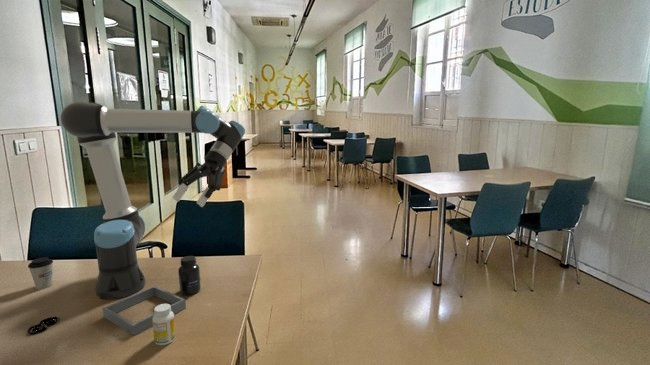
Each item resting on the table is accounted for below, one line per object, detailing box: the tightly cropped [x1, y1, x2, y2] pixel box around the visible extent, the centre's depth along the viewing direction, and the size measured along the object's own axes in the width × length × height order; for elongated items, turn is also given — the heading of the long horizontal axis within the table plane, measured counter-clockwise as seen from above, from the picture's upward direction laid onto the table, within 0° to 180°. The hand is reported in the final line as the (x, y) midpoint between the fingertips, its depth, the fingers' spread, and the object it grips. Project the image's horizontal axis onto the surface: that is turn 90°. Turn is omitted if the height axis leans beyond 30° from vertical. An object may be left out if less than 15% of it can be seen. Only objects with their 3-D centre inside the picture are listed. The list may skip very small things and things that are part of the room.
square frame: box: [102, 285, 187, 336], centre depth 107 cm, size 17×17×3 cm
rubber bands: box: [27, 316, 59, 335], centre depth 101 cm, size 5×8×1 cm, turn 170°
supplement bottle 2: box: [177, 255, 201, 296], centre depth 120 cm, size 7×7×12 cm
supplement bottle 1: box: [152, 303, 177, 346], centre depth 94 cm, size 5×5×10 cm
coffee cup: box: [27, 256, 54, 290], centre depth 123 cm, size 7×7×10 cm
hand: (186, 202), depth 123 cm, fingers open, 13 cm apart
